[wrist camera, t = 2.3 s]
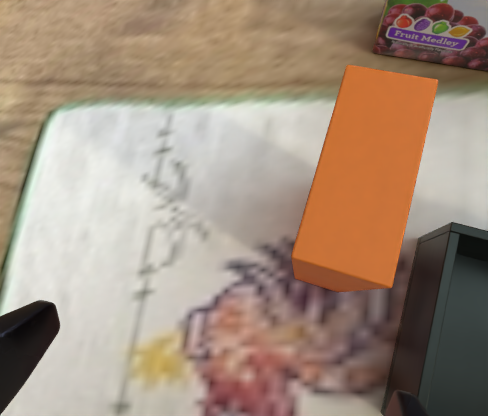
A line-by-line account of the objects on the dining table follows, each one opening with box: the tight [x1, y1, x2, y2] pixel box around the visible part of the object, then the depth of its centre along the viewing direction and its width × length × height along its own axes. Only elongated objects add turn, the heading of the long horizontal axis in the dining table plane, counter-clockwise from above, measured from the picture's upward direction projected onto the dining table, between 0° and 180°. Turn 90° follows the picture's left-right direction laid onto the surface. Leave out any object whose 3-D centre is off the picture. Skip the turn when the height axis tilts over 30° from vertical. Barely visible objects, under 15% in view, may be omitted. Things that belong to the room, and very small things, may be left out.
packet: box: [291, 65, 438, 292], centre depth 17 cm, size 7×3×13 cm, turn 162°
